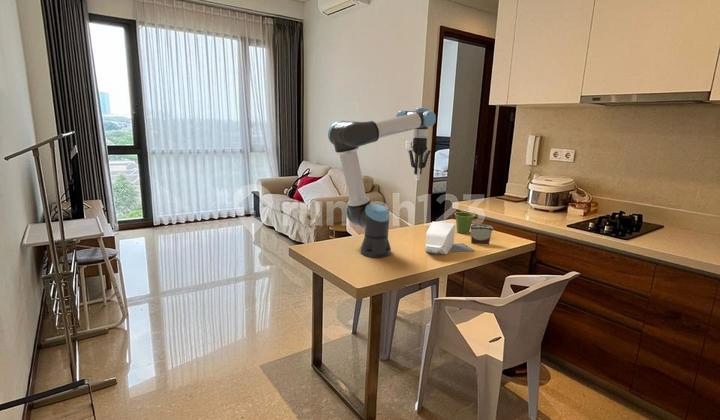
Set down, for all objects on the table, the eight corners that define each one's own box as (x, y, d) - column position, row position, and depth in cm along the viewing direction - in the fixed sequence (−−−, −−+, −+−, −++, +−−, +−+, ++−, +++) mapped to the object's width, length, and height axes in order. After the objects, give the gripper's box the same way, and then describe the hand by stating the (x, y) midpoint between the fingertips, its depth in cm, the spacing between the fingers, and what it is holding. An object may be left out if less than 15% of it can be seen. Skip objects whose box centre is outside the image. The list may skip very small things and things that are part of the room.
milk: (454, 223, 203) (446, 238, 180) (453, 244, 206) (444, 261, 183) (432, 221, 208) (421, 235, 185) (431, 241, 211) (420, 257, 187)
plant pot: (449, 230, 236) (451, 212, 233) (466, 229, 239) (468, 211, 236) (458, 235, 224) (460, 216, 222) (476, 234, 227) (478, 216, 225)
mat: (446, 252, 194) (446, 251, 194) (436, 245, 205) (436, 244, 205) (474, 250, 198) (474, 250, 198) (463, 243, 209) (463, 243, 209)
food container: (489, 241, 215) (491, 224, 213) (491, 244, 209) (493, 227, 207) (466, 240, 216) (468, 223, 214) (468, 243, 210) (470, 225, 208)
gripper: (428, 137, 213) (425, 179, 219) (406, 136, 210) (404, 179, 216) (434, 137, 206) (430, 181, 212) (411, 137, 203) (408, 181, 209)
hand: (417, 180), depth 214 cm, fingers closed
